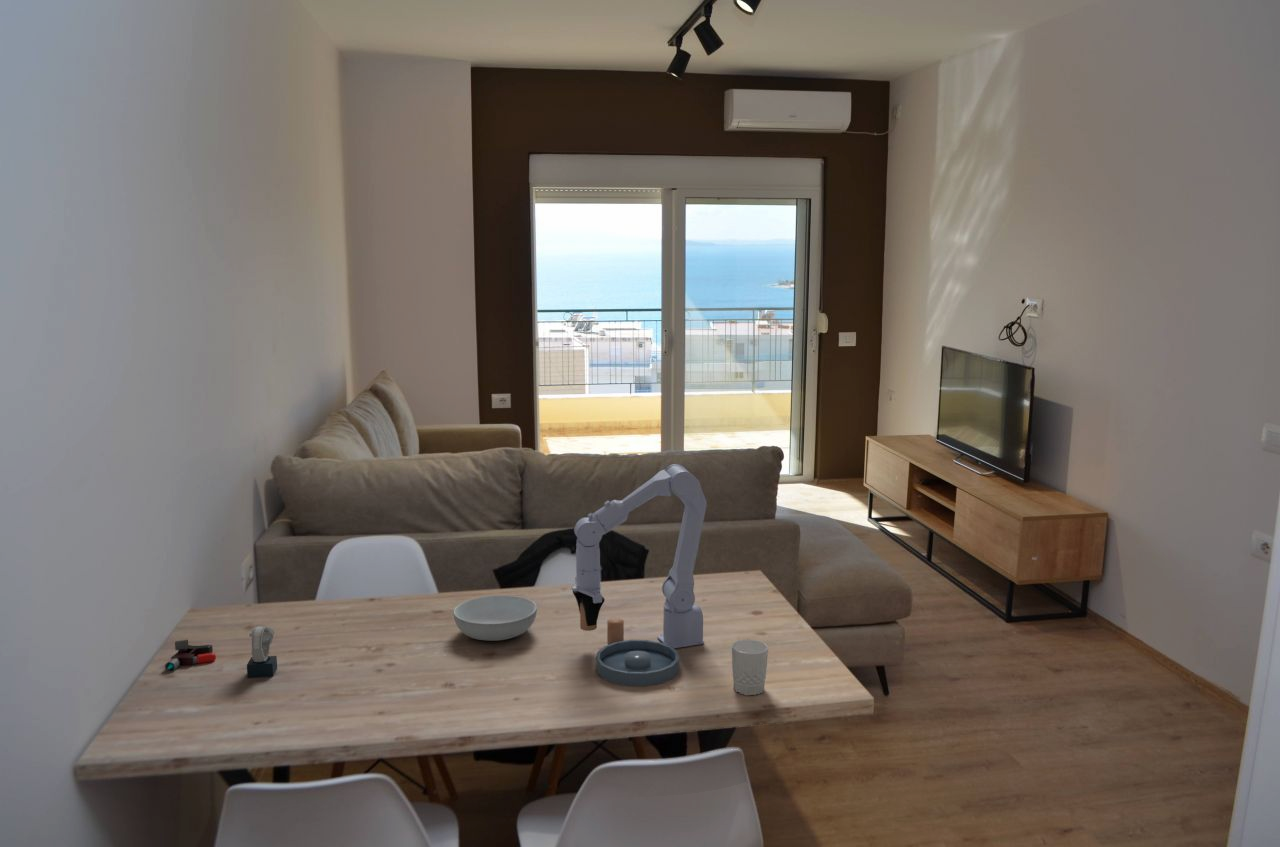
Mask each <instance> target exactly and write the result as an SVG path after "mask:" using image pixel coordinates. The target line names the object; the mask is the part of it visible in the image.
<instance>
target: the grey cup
mask: <svg viewBox="0 0 1280 847" xmlns="http://www.w3.org/2000/svg"><path fill="white" fill-rule="evenodd" d="M768 650H769V646H768V645H767V644H766V643H765V642H763V641H761V640H756V639H741V640H740V639H739V640H737V641H734V642H733V643H732V644H731V654H732V655H731V664H732V678H733V690H734V691H735V690H736V691H735V692H736V693H737V692H739V693H738V694H740V693H741V694H740V695H742V694H746V695H745V696H748V695H754V696H757V695H756V694H758V695H761V694H762V693H764V692H765V683H766V678H767V667H768V654H769V653H768V652H769V651H768ZM760 693H761V694H760Z"/></svg>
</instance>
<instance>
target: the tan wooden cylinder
mask: <svg viewBox="0 0 1280 847" xmlns="http://www.w3.org/2000/svg"><path fill="white" fill-rule="evenodd" d="M579 616H580V617H579V618H580V619H579V620H580V621H579V625H580V626H579V627H580V629H581V630H583V631H586V632H587V631H590V632H591V631H595V630H596V629H597V627H598V624H597V623H598V622H597V623H596V625H593V626H588V625H587V623H586V617H585V611H584V607H583V604H582V602H581V603H580V612H579Z"/></svg>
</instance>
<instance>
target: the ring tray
mask: <svg viewBox="0 0 1280 847" xmlns="http://www.w3.org/2000/svg"><path fill="white" fill-rule="evenodd" d="M679 653H680V652H678V651H677V650H676V648H673V647H671V646H668V645H666V644H664V643H663V642H661V641H654V640H648V639H624V641H619V642H614V643H612V644H609V645H607V644H606V645H604V646H603V647H601V648H600V649H599V650H598V651H597V652H596V656H595V657H596V658H595V671H596V672H597V674H598V675H599V676H600V678H601V679H603V680H605V679H606V681H608V682H609V683H612V684H617V685H621V686H626V687H627V686H628V687H648V686H655V685H659V684H660V683H661V684H663V683H666V682H667V681H671V680H673V679H674V678H675V677H676V676H677V674H679V673H680V671H679V670H680V656H679V655H680V654H679ZM674 676H675V677H674ZM654 684H655V685H654Z"/></svg>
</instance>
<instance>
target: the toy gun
mask: <svg viewBox="0 0 1280 847" xmlns="http://www.w3.org/2000/svg"><path fill="white" fill-rule="evenodd" d="M174 650H175V651H177V652H176V653H174V654H173V655H172V656H171V657H170V659H169V660H168V661H167V662H166V663H165V664H164V669H165V671H167V672H168V671H171V670H172V669H173V670H172V671H173V672H175V671H176V670H177V669H178V668H179V667H180V666H181V667H182V666H183V667H184V666H187V667H188V666H189V667H190V666H191V667H193V666H194V665H195V664H196V663H197V664H198V665H200V664H206V663H211V662H212V663H213V662H214V661H216V659H217V655H216V653H215V652H214V651H213V645H212V644H204V645H191V644H189V639H181V640H175V641H174Z"/></svg>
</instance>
